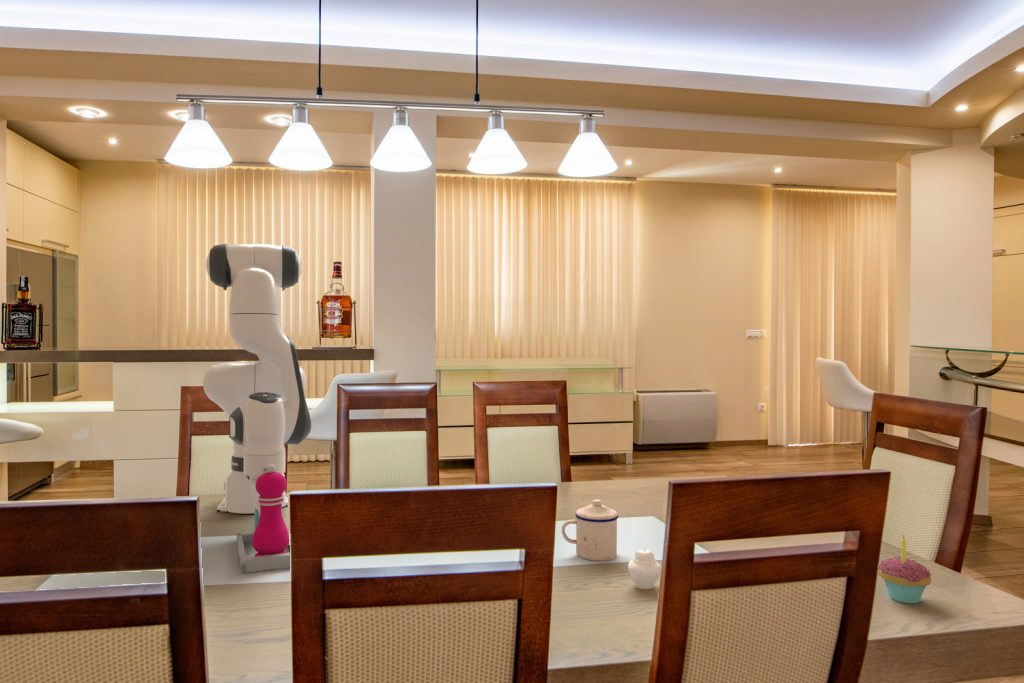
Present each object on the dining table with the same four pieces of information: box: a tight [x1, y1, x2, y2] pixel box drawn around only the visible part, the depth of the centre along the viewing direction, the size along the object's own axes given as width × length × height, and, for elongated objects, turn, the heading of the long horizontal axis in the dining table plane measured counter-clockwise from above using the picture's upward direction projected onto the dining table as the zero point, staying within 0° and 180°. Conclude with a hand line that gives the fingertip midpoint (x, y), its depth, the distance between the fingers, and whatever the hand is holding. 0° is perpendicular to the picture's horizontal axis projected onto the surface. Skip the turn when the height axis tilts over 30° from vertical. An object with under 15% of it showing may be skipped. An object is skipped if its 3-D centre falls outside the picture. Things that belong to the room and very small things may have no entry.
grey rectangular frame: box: [236, 509, 291, 574], centre depth 144 cm, size 22×11×7 cm, turn 24°
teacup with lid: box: [561, 499, 619, 562], centre depth 146 cm, size 12×9×12 cm
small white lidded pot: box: [627, 548, 662, 590], centre depth 127 cm, size 6×6×7 cm
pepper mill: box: [251, 464, 290, 557], centre depth 139 cm, size 7×7×20 cm
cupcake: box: [877, 534, 932, 604], centre depth 123 cm, size 9×8×12 cm
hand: (264, 526), depth 153 cm, fingers open, 7 cm apart
